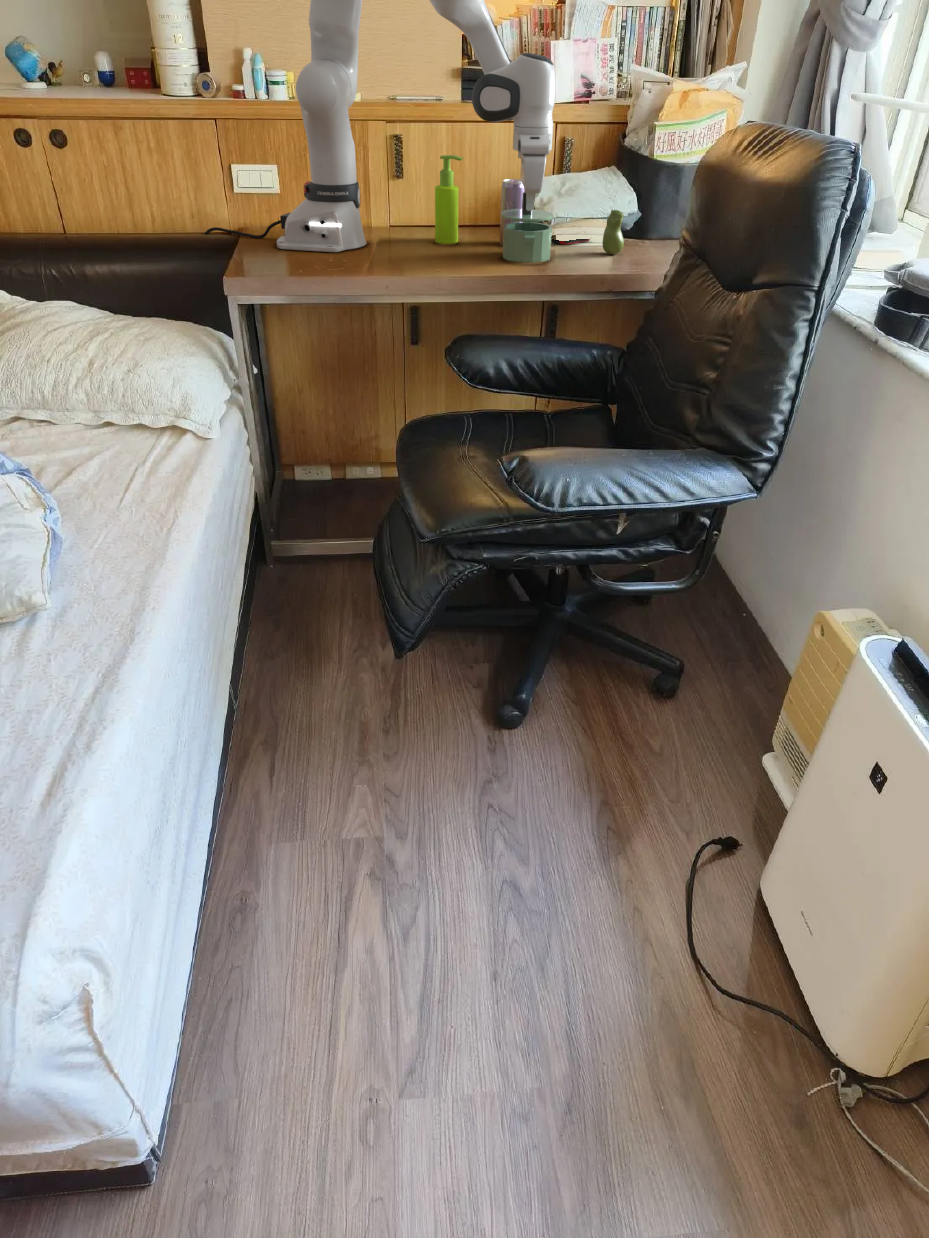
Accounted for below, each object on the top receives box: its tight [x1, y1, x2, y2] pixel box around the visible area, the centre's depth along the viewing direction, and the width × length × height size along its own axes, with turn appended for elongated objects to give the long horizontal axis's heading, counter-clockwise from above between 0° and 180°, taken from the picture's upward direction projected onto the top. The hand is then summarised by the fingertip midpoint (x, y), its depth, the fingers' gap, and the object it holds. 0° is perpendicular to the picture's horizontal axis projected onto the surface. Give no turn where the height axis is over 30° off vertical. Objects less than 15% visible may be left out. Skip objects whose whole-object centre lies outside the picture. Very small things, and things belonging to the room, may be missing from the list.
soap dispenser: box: [434, 154, 464, 245], centre depth 207 cm, size 6×7×20 cm
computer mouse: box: [551, 238, 591, 246], centre depth 216 cm, size 6×11×4 cm, turn 122°
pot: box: [501, 222, 553, 264], centre depth 198 cm, size 11×17×7 cm
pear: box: [601, 209, 625, 255], centre depth 203 cm, size 6×5×10 cm
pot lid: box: [500, 192, 554, 223], centre depth 193 cm, size 12×12×6 cm
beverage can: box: [499, 178, 525, 246], centre depth 207 cm, size 6×6×15 cm
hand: (529, 208), depth 193 cm, fingers closed on pot lid, 2 cm apart
